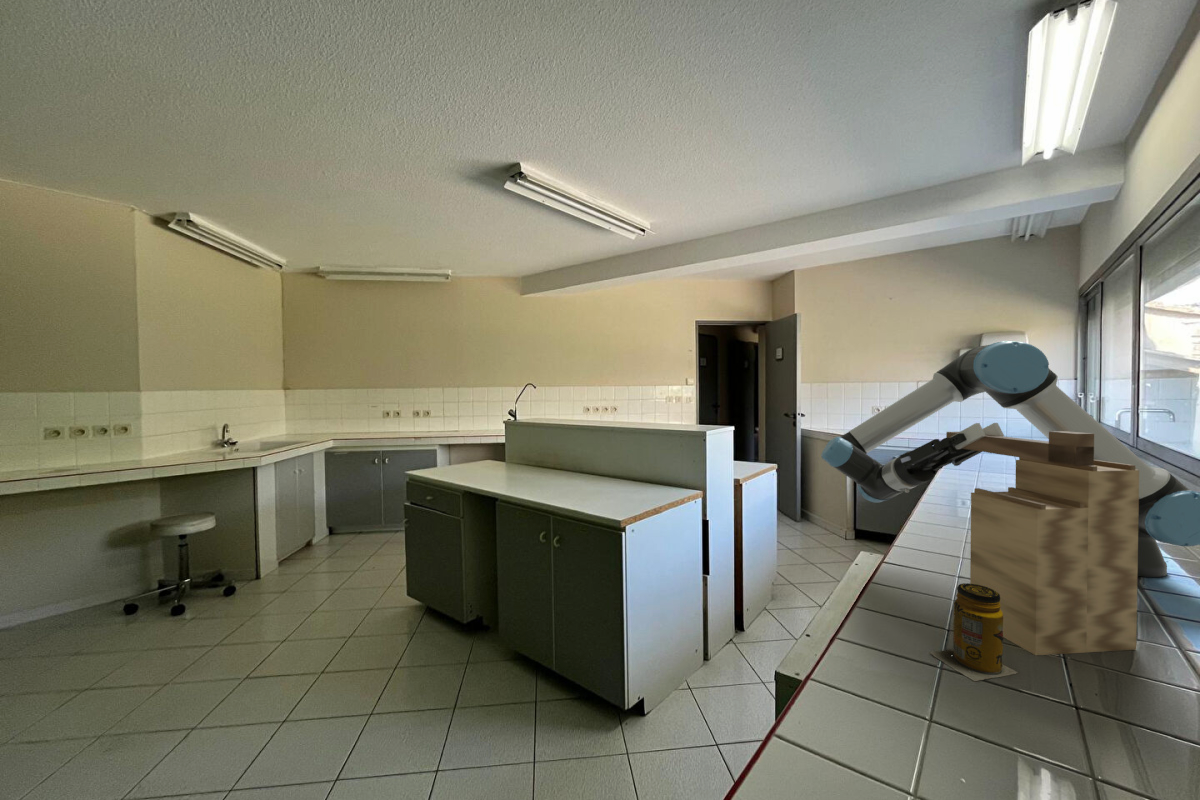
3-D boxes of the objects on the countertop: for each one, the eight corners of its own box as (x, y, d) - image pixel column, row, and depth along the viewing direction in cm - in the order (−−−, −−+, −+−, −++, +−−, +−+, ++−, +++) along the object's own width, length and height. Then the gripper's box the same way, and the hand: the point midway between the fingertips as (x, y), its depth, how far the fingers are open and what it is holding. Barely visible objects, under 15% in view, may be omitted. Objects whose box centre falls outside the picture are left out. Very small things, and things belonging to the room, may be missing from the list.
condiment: (1018, 673, 69) (1019, 596, 69) (974, 682, 67) (975, 603, 67) (969, 647, 76) (970, 577, 76) (929, 654, 74) (929, 582, 74)
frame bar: (959, 445, 94) (960, 422, 94) (1093, 465, 70) (1094, 433, 70) (946, 446, 94) (946, 422, 93) (1075, 466, 70) (1076, 433, 70)
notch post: (1057, 613, 87) (1059, 454, 86) (1136, 649, 75) (1139, 465, 74) (970, 618, 85) (971, 456, 85) (1035, 655, 73) (1037, 467, 73)
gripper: (947, 485, 105) (1039, 446, 84) (881, 487, 104) (958, 448, 83) (934, 455, 108) (1019, 411, 88) (870, 456, 107) (942, 412, 87)
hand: (989, 429), depth 86 cm, fingers closed on frame bar, 3 cm apart
